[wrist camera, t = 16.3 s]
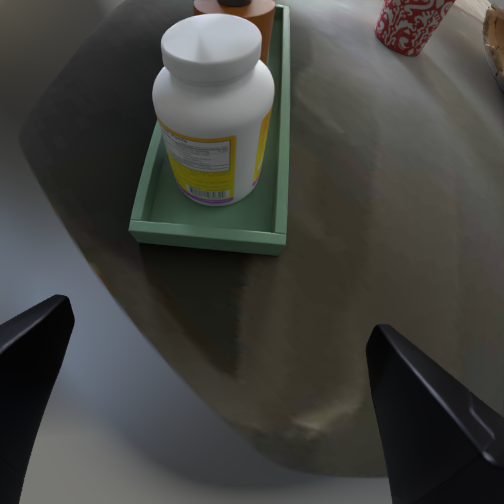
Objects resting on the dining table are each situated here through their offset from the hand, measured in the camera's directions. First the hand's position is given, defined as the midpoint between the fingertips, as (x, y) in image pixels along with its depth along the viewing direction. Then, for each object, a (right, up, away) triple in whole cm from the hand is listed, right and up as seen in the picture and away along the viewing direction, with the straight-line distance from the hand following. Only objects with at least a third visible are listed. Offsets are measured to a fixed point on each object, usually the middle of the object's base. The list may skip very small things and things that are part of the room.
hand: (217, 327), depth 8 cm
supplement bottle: (-2, +8, +16) cm, 18 cm away
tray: (-1, +17, +19) cm, 26 cm away
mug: (+22, +34, +26) cm, 48 cm away
